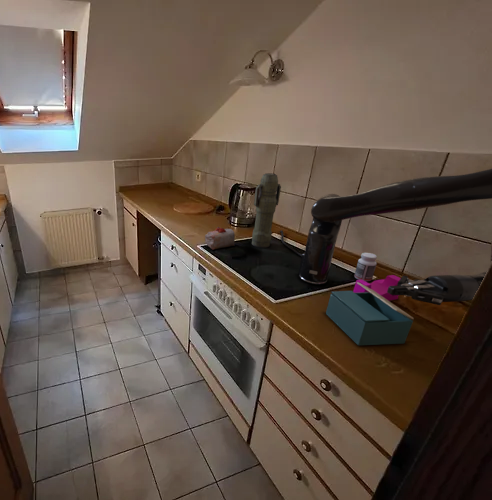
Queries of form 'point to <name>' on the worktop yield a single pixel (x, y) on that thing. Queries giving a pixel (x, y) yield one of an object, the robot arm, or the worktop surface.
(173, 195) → the worktop surface
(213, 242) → the food item
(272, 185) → the thermos
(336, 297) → the box
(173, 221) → the worktop surface
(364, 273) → the pill bottle
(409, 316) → the lid
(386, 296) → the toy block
